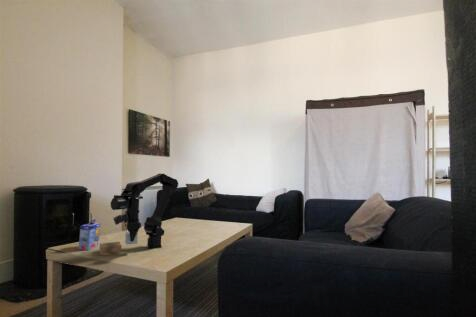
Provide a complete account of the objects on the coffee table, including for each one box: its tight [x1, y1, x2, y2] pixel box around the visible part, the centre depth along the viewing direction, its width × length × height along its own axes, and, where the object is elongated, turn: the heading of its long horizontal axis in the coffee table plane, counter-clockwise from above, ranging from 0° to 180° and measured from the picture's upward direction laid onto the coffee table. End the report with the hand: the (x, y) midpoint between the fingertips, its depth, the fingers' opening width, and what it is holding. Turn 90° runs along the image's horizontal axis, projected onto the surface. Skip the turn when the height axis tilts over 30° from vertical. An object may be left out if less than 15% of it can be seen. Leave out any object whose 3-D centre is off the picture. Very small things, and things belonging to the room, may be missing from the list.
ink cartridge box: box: [78, 219, 101, 251], centre depth 136 cm, size 10×6×14 cm, turn 178°
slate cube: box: [124, 231, 139, 246], centre depth 126 cm, size 5×5×5 cm
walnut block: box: [99, 241, 122, 256], centre depth 128 cm, size 9×9×4 cm
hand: (131, 240), depth 126 cm, fingers closed on slate cube, 5 cm apart
